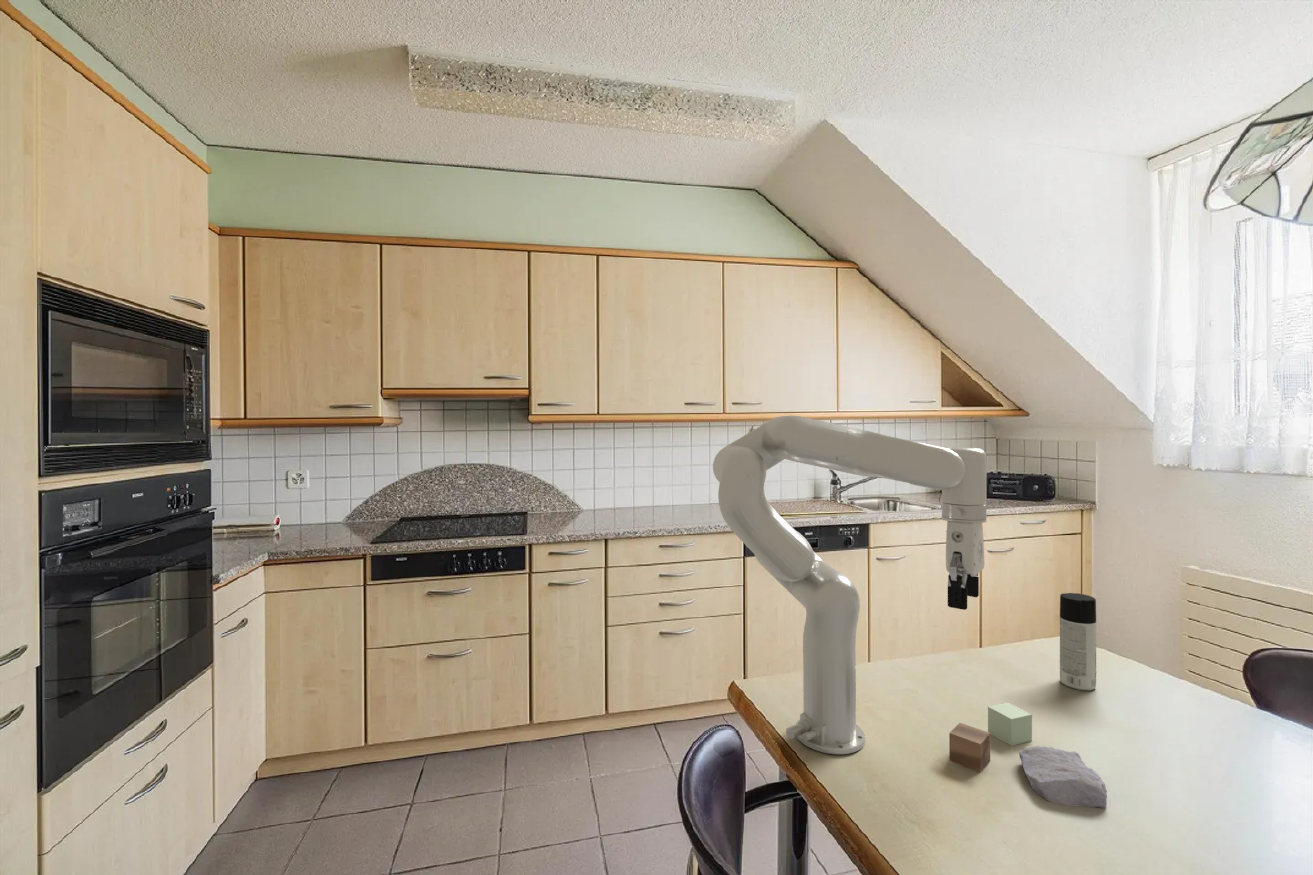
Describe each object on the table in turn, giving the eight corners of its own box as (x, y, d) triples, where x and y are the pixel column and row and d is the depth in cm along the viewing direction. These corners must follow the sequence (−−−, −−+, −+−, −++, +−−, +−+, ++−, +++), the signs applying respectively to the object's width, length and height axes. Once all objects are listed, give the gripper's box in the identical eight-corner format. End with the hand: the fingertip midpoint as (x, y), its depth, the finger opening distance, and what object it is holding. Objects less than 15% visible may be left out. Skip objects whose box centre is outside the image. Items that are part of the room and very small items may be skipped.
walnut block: (980, 773, 98) (980, 743, 98) (949, 760, 101) (949, 732, 101) (990, 761, 101) (990, 732, 101) (959, 749, 105) (959, 722, 105)
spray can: (1104, 691, 127) (1104, 600, 126) (1072, 691, 127) (1073, 600, 126) (1082, 678, 133) (1082, 591, 133) (1052, 678, 133) (1052, 592, 133)
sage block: (1011, 746, 106) (1011, 719, 106) (987, 732, 111) (988, 706, 111) (1031, 741, 108) (1031, 714, 107) (1007, 727, 112) (1007, 702, 112)
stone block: (1044, 815, 90) (1116, 810, 88) (1037, 784, 90) (1108, 778, 88) (1014, 773, 101) (1077, 768, 99) (1007, 745, 102) (1070, 740, 100)
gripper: (976, 520, 101) (975, 617, 102) (994, 509, 115) (994, 594, 115) (930, 516, 106) (930, 609, 106) (953, 505, 119) (953, 588, 120)
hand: (963, 601), depth 111 cm, fingers open, 9 cm apart
